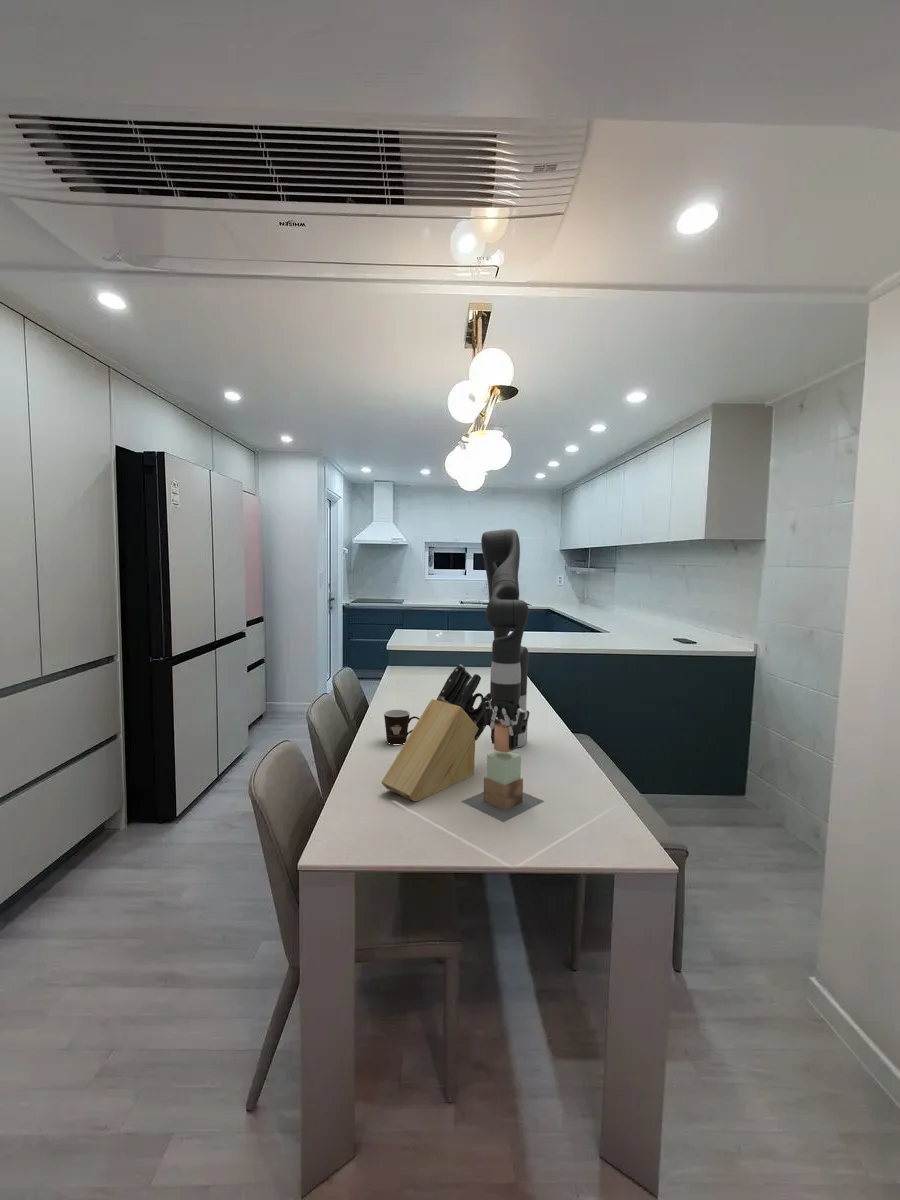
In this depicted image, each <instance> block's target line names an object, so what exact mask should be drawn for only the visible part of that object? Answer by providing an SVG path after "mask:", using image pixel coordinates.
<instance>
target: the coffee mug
mask: <svg viewBox="0 0 900 1200" xmlns="http://www.w3.org/2000/svg"><path fill="white" fill-rule="evenodd" d="M383 715H384V716H383V717H384V727H385V733H386V734H385V735H386V743H387V742H388V743H390V744H403V743H405V742H406V740H407V739H408V736H409V735H410V734H411V732H412V730H413V729H411V730H409V731H408V729H409V724H410V722H411V721H412V720H413V719H415V720H416V719H417V720H419V719H420V717H418V716H411V717H410V711H408V710H406V709H390V710H386V711H384V712H383ZM388 743H387V744H388ZM403 745H404V744H403Z"/></svg>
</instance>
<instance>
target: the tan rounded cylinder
mask: <svg viewBox="0 0 900 1200" xmlns="http://www.w3.org/2000/svg"><path fill="white" fill-rule="evenodd" d="M513 729H514V727H513ZM509 735H510V733H509V729H508V727H507V726H506V722H498V723H496V724H495V725H494V744H493V749H494V750H495V752H496V751H499V752H514V750H510V749H509Z"/></svg>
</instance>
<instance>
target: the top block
mask: <svg viewBox="0 0 900 1200" xmlns="http://www.w3.org/2000/svg"><path fill="white" fill-rule="evenodd" d="M521 761H522V755H521V754H518V753H515V752H514V751H511V752H499V751H496V750H495V751H493V752H491V753H488V754H487V755H486V777H487V778H488V779H491V780H493V781H496V782H498V783H500V784H503V785H507V784H509V783H512V782H514V781H516V780H518V779H520V778H521V768H522V767H521V765H522V762H521Z"/></svg>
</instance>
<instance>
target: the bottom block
mask: <svg viewBox="0 0 900 1200" xmlns="http://www.w3.org/2000/svg"><path fill="white" fill-rule="evenodd" d="M483 792H484V796H483V801H485V802H487V803H489V804H491V805H494V806H496V807H498V808H500V809H502V810H504V811H505V810H507V809H509V808H511V807H513V806H515V805H517V804H519V803H521V802H523V792H524V778H522V777H520V779H518V780H516V781H514V782H512V783H509V784H507V785H503V784H500V783H498V782H496V781H493V780H491V779H488V778H487V776H484V777H483Z"/></svg>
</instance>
